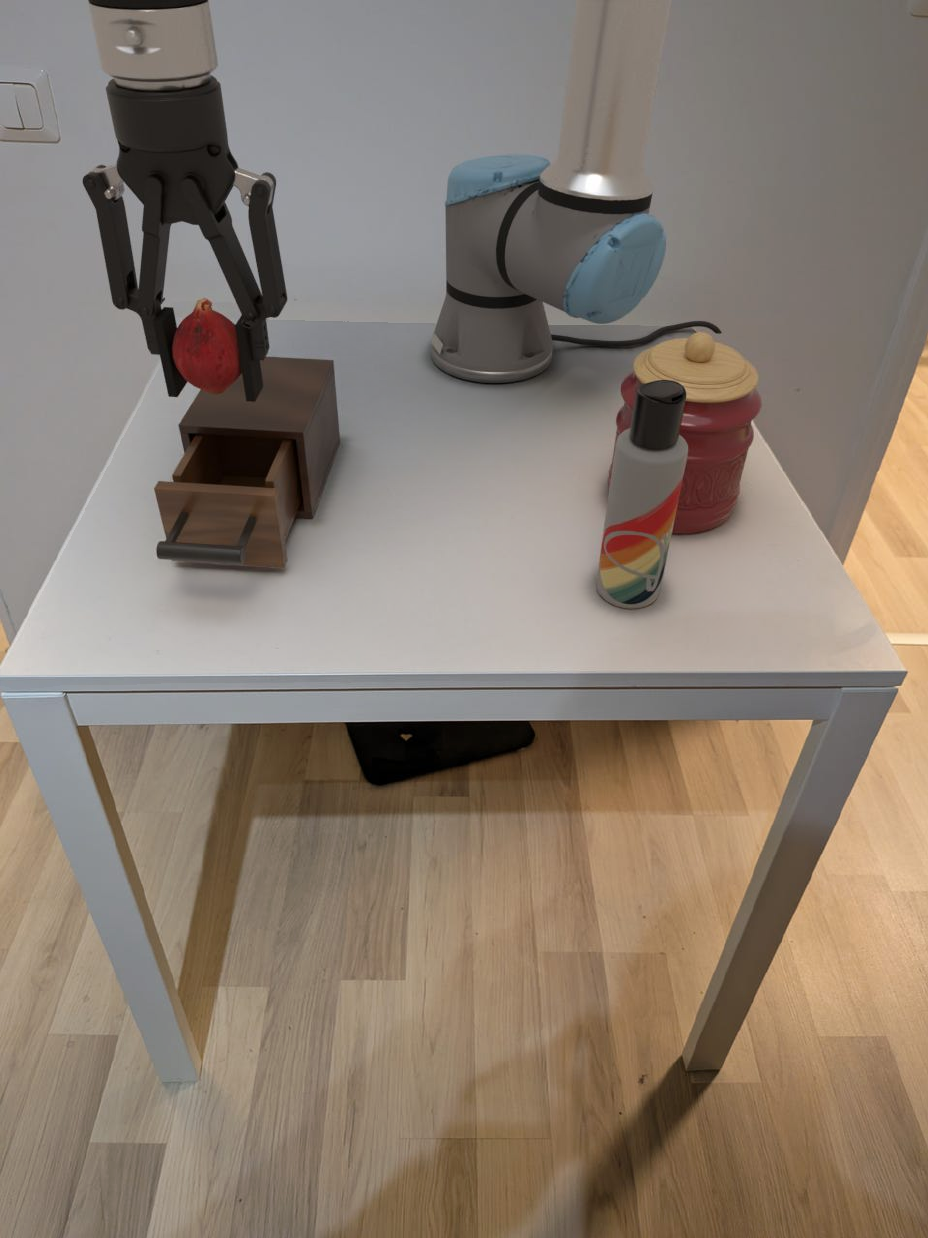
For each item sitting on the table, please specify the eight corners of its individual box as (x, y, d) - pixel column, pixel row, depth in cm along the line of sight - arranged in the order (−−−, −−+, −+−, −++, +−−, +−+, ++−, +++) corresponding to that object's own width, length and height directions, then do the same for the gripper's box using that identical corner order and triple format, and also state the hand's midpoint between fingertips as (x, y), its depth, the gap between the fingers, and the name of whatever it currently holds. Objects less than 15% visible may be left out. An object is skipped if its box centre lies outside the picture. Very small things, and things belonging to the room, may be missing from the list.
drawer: (269, 611, 79) (257, 537, 74) (149, 603, 80) (129, 528, 74) (315, 485, 93) (308, 416, 88) (213, 479, 94) (200, 410, 89)
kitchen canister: (752, 489, 96) (796, 325, 84) (707, 553, 88) (748, 381, 76) (637, 452, 101) (663, 292, 89) (583, 509, 93) (604, 341, 81)
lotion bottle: (630, 619, 80) (667, 412, 67) (582, 587, 84) (609, 383, 70) (672, 592, 83) (716, 388, 70) (624, 562, 86) (657, 361, 73)
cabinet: (312, 519, 91) (303, 432, 84) (196, 511, 91) (178, 425, 85) (340, 441, 102) (333, 359, 95) (236, 435, 102) (222, 353, 96)
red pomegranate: (236, 414, 75) (221, 319, 70) (169, 406, 76) (149, 311, 71) (262, 381, 79) (249, 289, 74) (198, 374, 80) (181, 282, 75)
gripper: (0, 83, 60) (89, 406, 75) (287, 95, 59) (318, 420, 74) (48, 59, 66) (122, 364, 81) (312, 69, 65) (336, 377, 80)
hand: (216, 390), depth 78 cm, fingers closed on red pomegranate, 6 cm apart
